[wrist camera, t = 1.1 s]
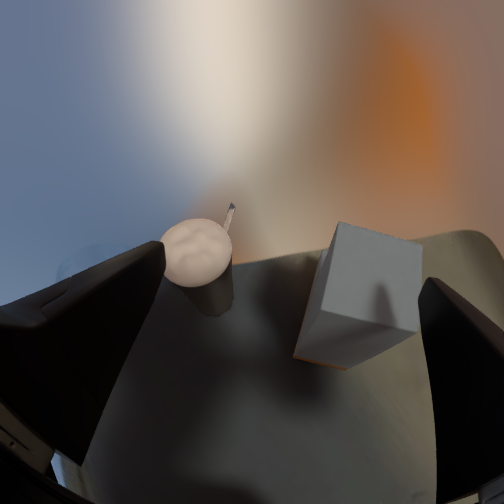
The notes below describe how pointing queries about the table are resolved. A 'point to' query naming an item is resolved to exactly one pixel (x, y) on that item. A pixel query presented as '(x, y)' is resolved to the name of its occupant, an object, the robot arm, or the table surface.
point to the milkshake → (201, 263)
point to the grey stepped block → (360, 298)
